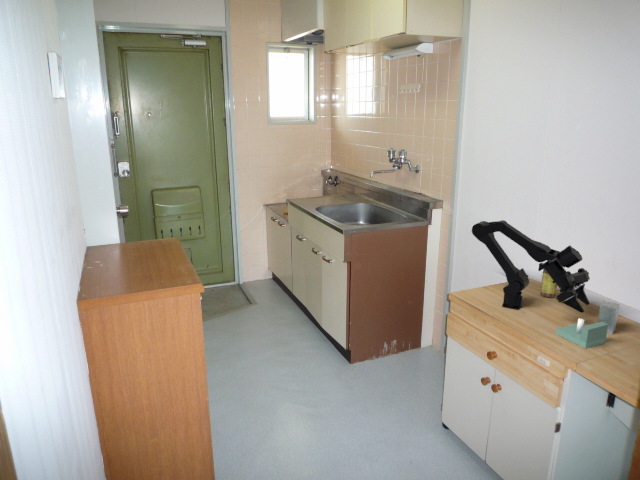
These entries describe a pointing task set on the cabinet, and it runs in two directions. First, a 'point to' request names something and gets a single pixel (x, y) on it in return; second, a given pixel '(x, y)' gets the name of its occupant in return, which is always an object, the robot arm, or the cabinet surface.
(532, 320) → the cabinet surface
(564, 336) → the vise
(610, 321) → the gray upright column
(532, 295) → the cabinet surface
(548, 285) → the sauce bottle
